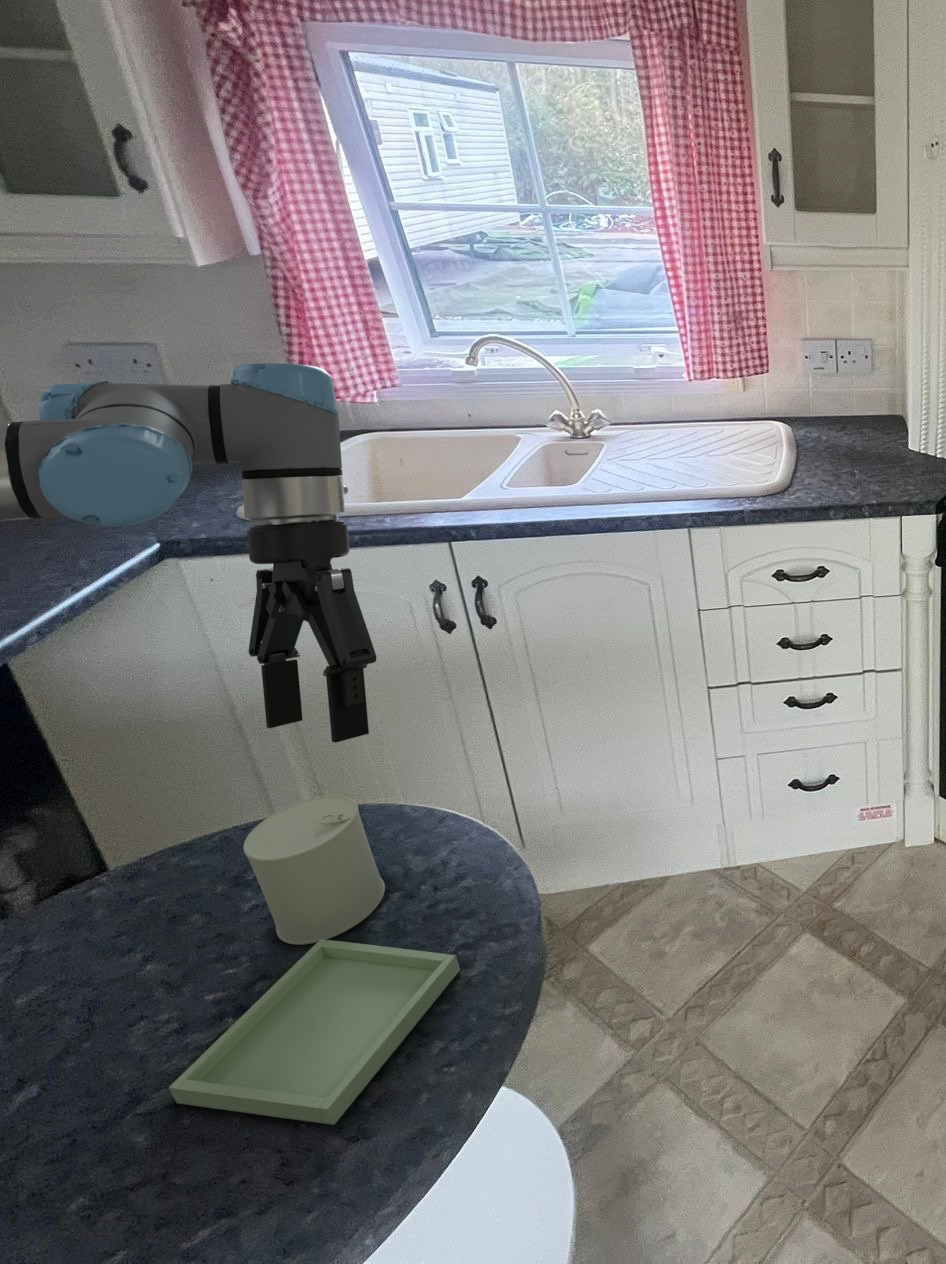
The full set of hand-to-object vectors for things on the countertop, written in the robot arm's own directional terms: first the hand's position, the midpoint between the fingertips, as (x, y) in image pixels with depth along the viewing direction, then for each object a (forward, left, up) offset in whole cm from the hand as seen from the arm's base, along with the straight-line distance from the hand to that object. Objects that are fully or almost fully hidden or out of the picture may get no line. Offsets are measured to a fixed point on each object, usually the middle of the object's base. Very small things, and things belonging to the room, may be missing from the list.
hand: (316, 731), depth 82 cm
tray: (+15, -8, -22) cm, 28 cm away
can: (-1, -3, -22) cm, 23 cm away
